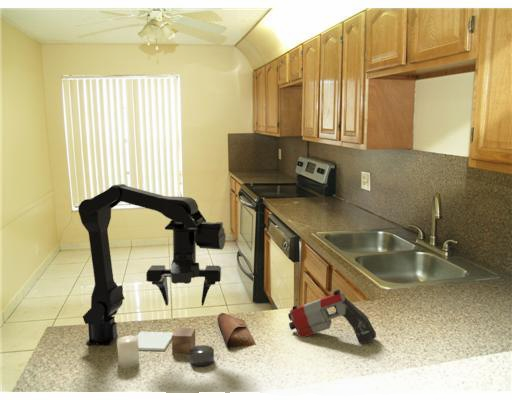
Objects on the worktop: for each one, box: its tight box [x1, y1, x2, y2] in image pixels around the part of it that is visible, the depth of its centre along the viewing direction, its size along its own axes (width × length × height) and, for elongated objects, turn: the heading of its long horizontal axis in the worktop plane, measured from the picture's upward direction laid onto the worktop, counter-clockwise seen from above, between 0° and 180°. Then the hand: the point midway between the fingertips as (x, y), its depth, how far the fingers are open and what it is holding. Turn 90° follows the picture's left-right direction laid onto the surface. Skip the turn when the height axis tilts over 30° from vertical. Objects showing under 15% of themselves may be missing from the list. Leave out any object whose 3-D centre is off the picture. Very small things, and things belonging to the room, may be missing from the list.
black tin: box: [189, 345, 215, 369], centre depth 111 cm, size 6×6×3 cm
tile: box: [135, 331, 174, 352], centre depth 122 cm, size 10×10×1 cm
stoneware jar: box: [116, 335, 140, 369], centre depth 110 cm, size 5×5×6 cm
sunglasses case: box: [216, 312, 257, 349], centre depth 127 cm, size 18×7×7 cm, turn 14°
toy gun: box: [287, 289, 377, 344], centre depth 125 cm, size 5×22×15 cm, turn 72°
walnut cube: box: [171, 327, 197, 356], centre depth 117 cm, size 5×5×5 cm
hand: (184, 305), depth 117 cm, fingers open, 9 cm apart
